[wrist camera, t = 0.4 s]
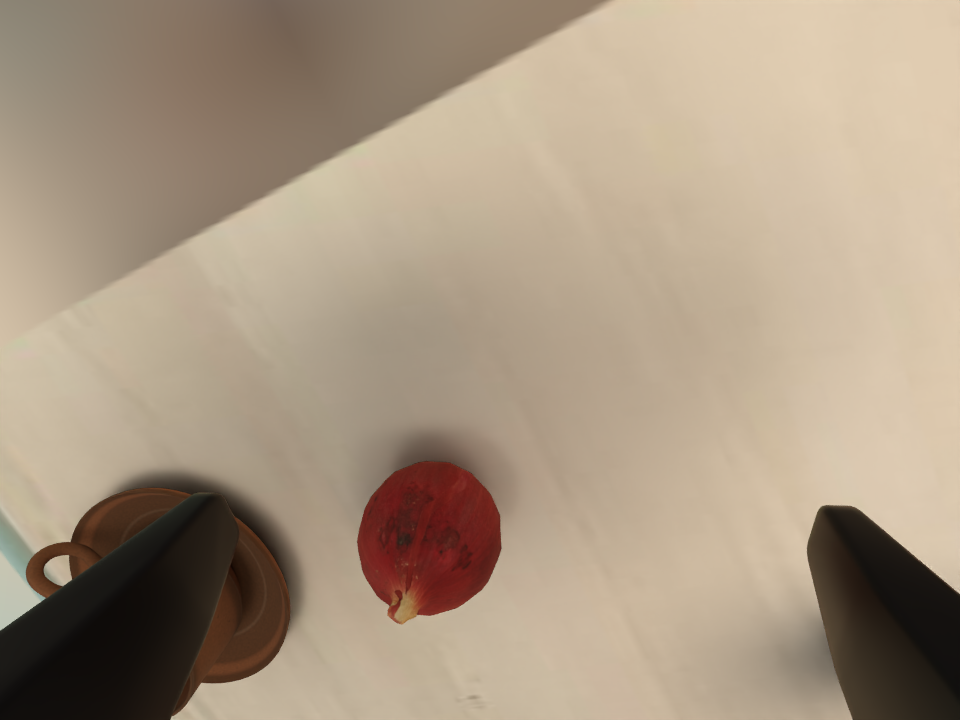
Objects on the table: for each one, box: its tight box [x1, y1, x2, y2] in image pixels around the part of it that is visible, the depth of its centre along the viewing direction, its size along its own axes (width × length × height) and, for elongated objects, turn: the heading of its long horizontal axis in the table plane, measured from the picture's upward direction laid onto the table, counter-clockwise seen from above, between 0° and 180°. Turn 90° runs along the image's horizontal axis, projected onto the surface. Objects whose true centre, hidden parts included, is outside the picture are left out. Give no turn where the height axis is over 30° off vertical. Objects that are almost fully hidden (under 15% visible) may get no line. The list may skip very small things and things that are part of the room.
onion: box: [357, 461, 501, 624], centre depth 24 cm, size 6×6×8 cm
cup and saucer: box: [26, 488, 290, 716], centre depth 29 cm, size 12×12×6 cm
